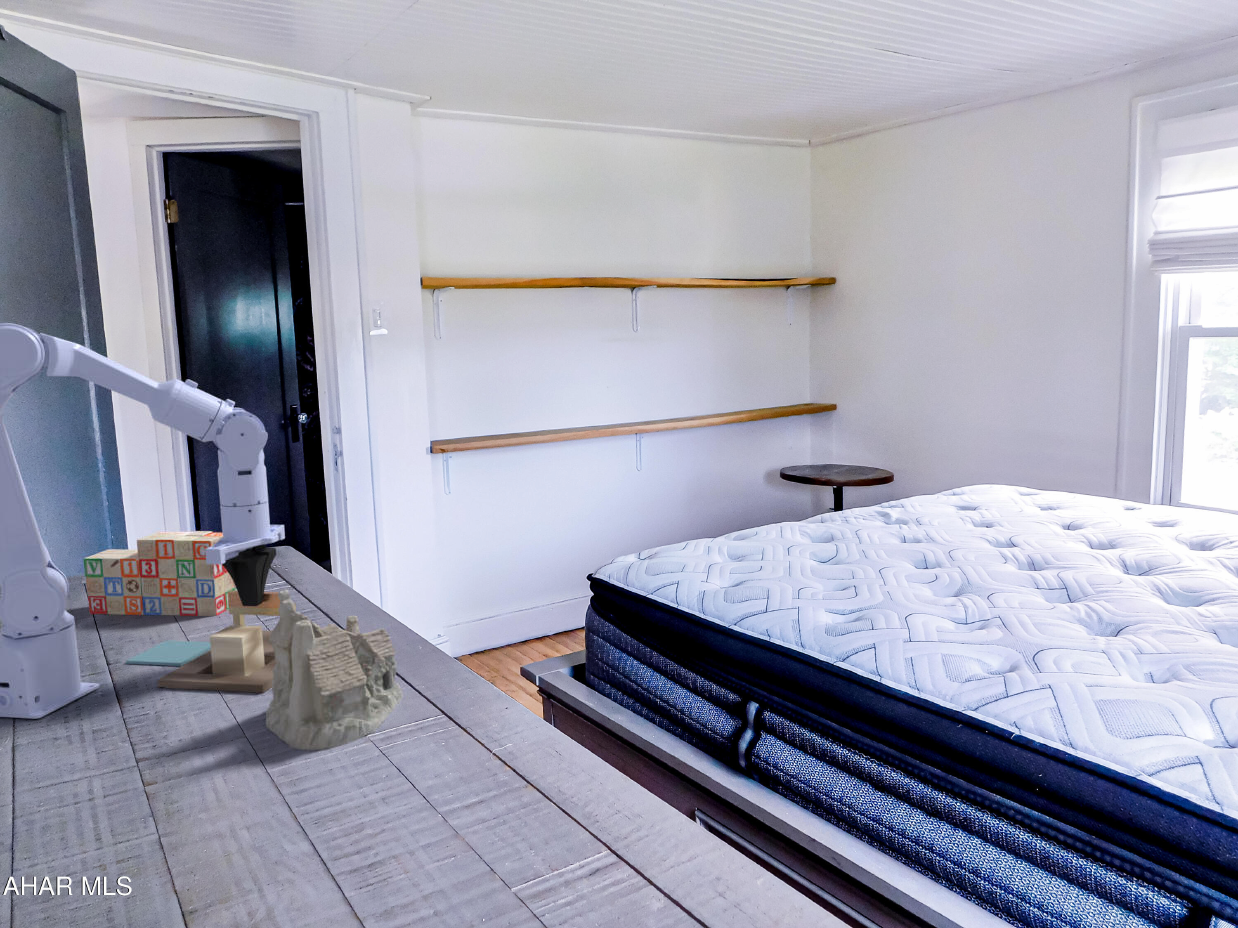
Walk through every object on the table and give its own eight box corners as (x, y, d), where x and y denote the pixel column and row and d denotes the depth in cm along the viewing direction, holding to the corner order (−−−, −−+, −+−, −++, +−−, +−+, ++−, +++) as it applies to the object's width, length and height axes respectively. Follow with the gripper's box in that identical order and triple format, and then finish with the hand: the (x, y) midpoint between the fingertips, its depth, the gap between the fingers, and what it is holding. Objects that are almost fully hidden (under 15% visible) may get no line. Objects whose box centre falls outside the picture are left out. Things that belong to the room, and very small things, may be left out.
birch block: (245, 679, 109) (241, 637, 108) (213, 678, 109) (209, 636, 108) (264, 667, 113) (261, 626, 112) (233, 665, 114) (230, 625, 113)
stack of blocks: (88, 615, 137) (80, 539, 135) (114, 603, 143) (106, 530, 141) (217, 616, 135) (210, 539, 133) (238, 604, 141) (232, 530, 140)
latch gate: (288, 650, 115) (284, 594, 114) (231, 647, 116) (227, 592, 115) (298, 643, 117) (294, 588, 116) (242, 641, 119) (238, 587, 118)
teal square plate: (180, 666, 113) (180, 663, 113) (126, 663, 115) (126, 660, 115) (218, 645, 121) (218, 642, 121) (166, 643, 123) (166, 640, 122)
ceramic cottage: (287, 759, 87) (286, 611, 86) (252, 710, 100) (250, 582, 99) (434, 728, 96) (434, 594, 95) (384, 687, 109) (383, 569, 108)
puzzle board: (263, 692, 104) (262, 684, 104) (158, 687, 106) (157, 679, 106) (338, 640, 123) (338, 633, 122) (248, 636, 125) (247, 629, 125)
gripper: (239, 514, 104) (248, 623, 106) (302, 493, 118) (308, 590, 120) (186, 513, 105) (195, 621, 107) (254, 493, 119) (262, 588, 121)
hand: (252, 604), depth 114 cm, fingers closed
